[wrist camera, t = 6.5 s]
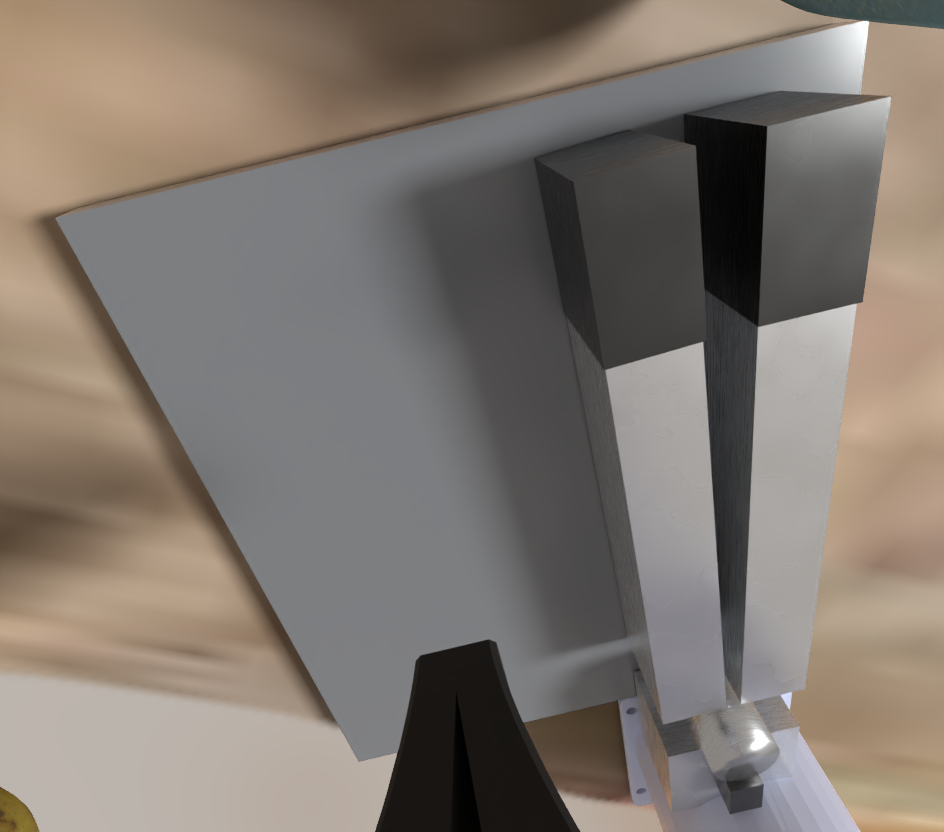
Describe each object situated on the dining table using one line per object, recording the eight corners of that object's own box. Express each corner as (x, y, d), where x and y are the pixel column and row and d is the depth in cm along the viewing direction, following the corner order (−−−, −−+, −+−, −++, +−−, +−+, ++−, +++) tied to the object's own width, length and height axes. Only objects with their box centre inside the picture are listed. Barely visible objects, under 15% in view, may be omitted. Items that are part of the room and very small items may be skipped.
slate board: (779, 635, 26) (795, 658, 25) (360, 734, 26) (358, 761, 25) (835, 23, 14) (869, 19, 13) (79, 207, 15) (54, 217, 14)
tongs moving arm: (684, 624, 23) (729, 710, 20) (626, 640, 23) (663, 728, 20) (628, 129, 14) (695, 145, 11) (533, 157, 14) (573, 182, 11)
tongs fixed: (746, 700, 26) (808, 811, 22) (639, 725, 26) (682, 841, 22) (778, 90, 14) (929, 98, 10) (577, 139, 14) (649, 166, 10)
